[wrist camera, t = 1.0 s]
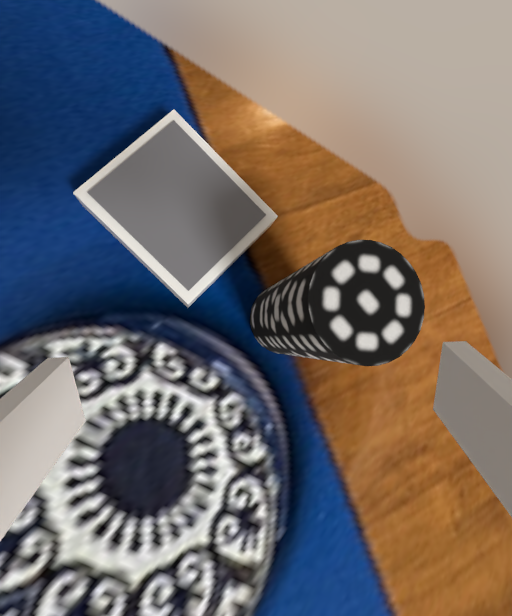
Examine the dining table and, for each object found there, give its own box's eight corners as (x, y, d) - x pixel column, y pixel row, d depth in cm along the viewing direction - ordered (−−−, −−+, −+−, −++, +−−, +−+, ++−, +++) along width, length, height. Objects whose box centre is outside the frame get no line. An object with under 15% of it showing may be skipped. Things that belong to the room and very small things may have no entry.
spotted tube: (329, 322, 44) (446, 309, 25) (281, 368, 42) (365, 393, 23) (286, 270, 44) (370, 215, 24) (235, 315, 42) (281, 294, 22)
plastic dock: (82, 206, 39) (71, 191, 36) (174, 128, 42) (173, 107, 38) (188, 307, 41) (188, 304, 37) (270, 226, 44) (278, 215, 40)
